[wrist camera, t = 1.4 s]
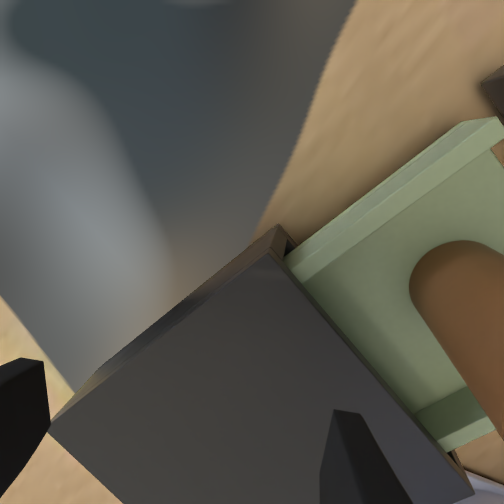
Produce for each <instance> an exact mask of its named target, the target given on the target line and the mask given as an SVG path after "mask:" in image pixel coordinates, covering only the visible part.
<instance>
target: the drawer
mask: <svg viewBox="0 0 504 504" xmlns="http://www.w3.org/2000/svg"><path fill="white" fill-rule="evenodd" d="M481 86H482V87H483V89H484V90H485V92H486V93H487V94H488V96H489V97H490V99H491V100H492V102H493V103H494V105H495V106H496V107H497V109H498V110H499V112H500V113H501V115H502V116H503V117H504V65H503V66H501V67H500V68H499V69H498V70H496V71H495V72H494V73H492V74H491V75H490V76H489V77H487V78H486V79H485V80H484V81H482V83H481ZM502 139H504V126H503V125H502V123H501V122H500V120H499V119H498V118H497V117H496V116H495V117H488V118H481V119H474V120H468V121H462V122H460V123H459V124H457V125H456V126H455V127H453V128H452V129H451V130H449V131H448V132H447V133H445V134H444V135H443V136H442V137H440V138H439V139H438V140H436V141H435V142H434V143H432V144H431V145H430V146H428V147H427V148H426V149H425V150H423V151H422V152H421V153H419V154H418V155H417V156H415V157H414V158H413V159H411V160H410V161H409V162H408V163H406V164H405V165H404V166H402V167H401V168H400V169H398V170H397V171H396V172H394V173H393V174H392V175H391V176H389V177H388V178H387V179H385V180H384V181H383V182H381V183H380V184H379V185H377V186H376V187H375V188H374V189H372V190H371V191H370V192H368V193H367V194H366V195H364V196H363V197H362V198H360V199H359V200H358V201H357V202H355V203H354V204H353V205H351V206H350V207H349V208H347V209H346V210H345V211H343V212H342V213H341V214H340V215H338V216H337V217H336V218H334V219H333V220H332V221H330V222H329V223H328V224H326V225H325V226H324V227H323V228H321V229H320V230H319V231H317V232H316V233H315V234H313V235H312V236H311V237H309V238H308V239H307V240H306V241H304V242H303V243H302V244H300V245H299V246H298V247H296V248H295V249H294V250H292V251H291V252H290V253H289V254H287V255H286V256H285V257H283V263H284V264H285V265H286V266H287V267H288V268H289V270H290V271H291V272H292V273H293V274H294V275H295V277H296V278H297V279H298V280H299V281H300V282H301V284H302V285H303V286H304V287H305V288H306V289H307V291H308V292H309V293H310V294H311V295H312V296H313V298H314V299H315V300H316V301H317V302H318V303H319V305H320V306H321V307H322V308H323V309H324V310H325V312H326V313H327V314H328V315H329V316H330V317H331V319H332V320H333V321H334V322H335V323H336V324H337V326H338V327H339V328H340V329H341V330H342V331H343V333H344V334H345V335H346V336H347V337H348V338H349V340H350V341H351V342H352V343H353V344H354V345H355V347H356V348H357V349H358V350H359V351H360V352H361V354H362V355H363V356H364V357H365V358H366V359H367V361H368V362H369V363H370V364H371V365H372V366H373V368H374V369H375V370H376V371H377V372H378V373H379V375H380V376H381V377H382V378H383V379H384V380H385V382H386V383H387V384H388V385H389V386H390V387H391V389H392V390H393V391H394V392H395V393H396V394H397V396H398V397H399V398H400V399H401V400H402V401H403V403H404V404H405V405H406V406H407V407H408V408H409V410H410V411H411V412H412V413H413V414H414V415H415V417H416V418H417V419H418V420H419V421H420V422H421V424H422V425H423V426H424V427H425V428H426V429H427V431H428V432H429V433H430V434H431V435H432V436H433V438H434V439H435V440H436V441H437V442H438V443H439V445H440V446H441V447H442V448H443V449H444V450H445V452H446V453H447V452H449V451H451V450H454V449H456V448H458V447H460V446H462V445H464V444H466V443H468V442H471V441H473V440H475V439H477V438H479V437H481V436H483V435H486V434H488V433H490V432H492V431H494V430H496V428H495V427H494V425H493V424H492V422H491V421H490V419H489V418H488V416H487V415H486V413H485V412H484V410H483V409H482V407H481V406H480V404H479V403H478V401H477V400H476V398H475V397H474V395H473V394H472V392H471V391H470V389H469V388H468V386H467V385H466V383H465V382H464V380H463V379H462V377H461V376H460V374H459V373H458V371H457V369H456V368H455V366H454V365H453V363H452V362H451V360H450V359H449V357H448V356H447V354H446V353H445V351H444V350H443V348H442V347H441V345H440V344H439V342H438V341H437V339H436V338H435V336H434V335H433V333H432V332H431V330H430V329H429V327H428V326H427V324H426V323H425V321H424V320H423V318H422V317H421V315H420V314H419V312H418V311H417V309H416V308H415V306H414V305H413V303H412V301H411V298H410V294H409V281H410V277H411V273H412V271H413V269H414V267H415V266H416V264H417V263H418V261H419V260H420V259H421V258H422V257H423V256H424V255H425V254H426V253H427V252H429V251H430V250H432V249H433V248H435V247H437V246H439V245H442V244H444V243H448V242H452V241H459V240H469V241H475V242H479V243H482V244H484V245H487V246H489V247H490V248H492V249H494V250H496V251H497V252H499V253H501V254H503V255H504V167H503V166H502V164H501V163H500V161H499V160H498V159H497V157H496V156H495V154H494V153H493V152H492V150H491V149H490V148H491V147H493V146H494V145H495V144H497V143H498V142H500V141H501V140H502Z"/></svg>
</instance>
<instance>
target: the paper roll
mask: <svg viewBox="0 0 504 504" xmlns="http://www.w3.org/2000/svg"><path fill="white" fill-rule="evenodd" d="M409 294H410V298H411V301H412V303H413V305H414V306H415V308H416V309H417V311H418V312H419V314H420V315H421V317H422V318H423V320H424V321H425V323H426V324H427V326H428V327H429V329H430V330H431V332H432V333H433V335H434V336H435V338H436V339H437V341H438V342H439V344H440V345H441V347H442V348H443V350H444V351H445V353H446V354H447V356H448V357H449V359H450V360H451V362H452V363H453V365H454V366H455V368H456V369H457V371H458V373H459V374H460V376H461V377H462V379H463V380H464V382H465V383H466V385H467V386H468V388H469V389H470V391H471V392H472V394H473V395H474V397H475V398H476V400H477V401H478V403H479V404H480V406H481V407H482V409H483V410H484V412H485V413H486V415H487V416H488V418H489V419H490V421H491V422H492V424H493V425H494V427H495V428H496V430H497V431H498V433H499V434H500V436H501V437H502V439H503V440H504V255H503V254H501V253H499V252H497V251H496V250H494V249H492V248H490V247H489V246H487V245H484V244H482V243H479V242H475V241H469V240H459V241H452V242H448V243H444V244H442V245H439V246H437V247H435V248H433V249H432V250H430V251H429V252H427V253H426V254H425V255H424V256H423V257H422V258H421V259H420V260H419V261H418V263H417V264H416V266H415V267H414V269H413V271H412V273H411V277H410V281H409Z"/></svg>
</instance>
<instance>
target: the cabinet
mask: <svg viewBox="0 0 504 504" xmlns="http://www.w3.org/2000/svg"><path fill="white" fill-rule="evenodd" d="M296 247H298V246H297V245H296V244H295V242H294V241H293V240H292V239H291V238H290V236H289V235H288V234H287V233H286V232H285V230H284V229H283V228H282V227H281V226H280V225H279V224H277V225H275V226H274V227H273V228H272V229H270V230H269V231H268V232H267V233H265V234H264V235H263V236H262V237H260V238H259V239H258V240H257V241H255V242H254V243H253V244H252V245H251V246H249V247H248V248H247V249H246V250H244V251H243V252H242V253H241V254H239V255H238V256H237V257H236V258H234V259H233V260H232V261H231V262H230V263H228V264H227V265H226V266H224V267H223V268H222V269H221V270H220V271H218V272H217V273H216V274H215V275H213V276H212V277H211V278H210V279H209V280H207V281H206V282H205V283H203V284H202V285H201V286H200V287H198V288H197V289H196V290H195V291H194V292H192V293H191V294H190V295H189V296H187V297H186V298H185V299H184V300H182V301H181V302H180V303H179V304H177V305H176V306H175V307H174V308H172V309H171V310H170V311H169V312H167V313H166V314H165V315H164V316H163V317H161V318H160V319H159V320H158V321H156V322H155V323H154V324H153V325H151V326H150V327H149V328H148V329H146V330H145V331H144V332H143V333H142V334H140V335H139V336H138V337H136V338H135V339H134V340H133V341H132V342H130V343H129V344H128V345H127V346H125V347H124V348H123V349H122V350H120V351H119V352H118V353H117V354H115V355H114V356H113V357H112V358H111V359H109V360H108V361H107V362H105V363H104V364H103V365H102V366H101V367H100V368H99V369H98V370H97V371H96V372H95V373H94V374H93V375H92V376H91V377H90V378H89V379H88V381H87V382H86V383H85V384H84V385H83V386H82V387H81V388H80V389H79V390H78V391H77V393H76V394H75V395H74V396H73V397H72V398H71V399H70V400H69V401H68V402H67V403H66V404H65V406H64V407H63V408H62V409H61V410H60V411H59V412H58V413H57V414H56V415H55V417H54V418H53V419H52V420H51V426H50V428H49V429H48V431H47V432H48V433H49V434H50V435H51V436H52V437H53V438H54V439H55V440H56V441H57V442H58V443H59V444H60V445H61V446H62V447H64V448H65V449H66V450H67V451H68V452H69V453H70V454H71V455H72V456H73V457H74V458H75V459H76V460H77V461H78V462H79V463H81V464H82V465H83V466H84V467H85V468H86V469H87V470H88V471H89V472H90V473H91V474H92V475H93V476H94V477H95V478H97V479H98V480H99V481H100V482H101V483H102V484H103V485H104V486H105V487H106V488H107V489H108V490H109V491H110V492H111V493H113V494H114V495H115V496H116V497H117V498H118V499H119V500H120V501H121V502H122V503H123V504H320V484H319V473H320V468H321V464H322V459H323V455H324V450H325V445H326V441H327V436H328V432H329V427H330V423H331V418H332V414H333V409H336V410H342V411H348V412H354V413H360V414H361V415H362V417H363V418H364V420H365V422H366V423H367V425H368V427H369V429H370V431H371V433H372V434H373V436H374V438H375V440H376V441H377V443H378V445H379V447H380V449H381V450H382V452H383V454H384V456H385V457H386V459H387V461H388V462H389V464H390V466H391V467H392V469H393V471H394V473H395V474H396V476H397V478H398V479H399V481H400V483H401V484H402V486H403V487H404V489H405V491H406V492H407V494H408V495H409V497H410V498H411V500H412V502H413V503H414V504H454V503H456V502H459V501H461V500H463V499H466V498H468V497H471V496H473V495H475V491H474V489H473V487H472V485H471V483H470V481H469V479H468V477H467V474H466V472H465V470H464V468H463V466H462V464H461V462H460V460H459V458H458V456H457V454H456V452H455V450H451V451H449V452H447V453H446V452H445V450H444V449H443V448H442V447H441V446H440V445H439V443H438V442H437V441H436V440H435V439H434V438H433V436H432V435H431V434H430V433H429V432H428V431H427V429H426V428H425V427H424V426H423V425H422V424H421V422H420V421H419V420H418V419H417V418H416V417H415V415H414V414H413V413H412V412H411V411H410V410H409V408H408V407H407V406H406V405H405V404H404V403H403V401H402V400H401V399H400V398H399V397H398V396H397V394H396V393H395V392H394V391H393V390H392V389H391V387H390V386H389V385H388V384H387V383H386V382H385V380H384V379H383V378H382V377H381V376H380V375H379V373H378V372H377V371H376V370H375V369H374V368H373V366H372V365H371V364H370V363H369V362H368V361H367V359H366V358H365V357H364V356H363V355H362V354H361V352H360V351H359V350H358V349H357V348H356V347H355V345H354V344H353V343H352V342H351V341H350V340H349V338H348V337H347V336H346V335H345V334H344V333H343V331H342V330H341V329H340V328H339V327H338V326H337V324H336V323H335V322H334V321H333V320H332V319H331V317H330V316H329V315H328V314H327V313H326V312H325V310H324V309H323V308H322V307H321V306H320V305H319V303H318V302H317V301H316V300H315V299H314V298H313V296H312V295H311V294H310V293H309V292H308V291H307V289H306V288H305V287H304V286H303V285H302V284H301V282H300V281H299V280H298V279H297V278H296V277H295V275H294V274H293V273H292V272H291V271H290V270H289V268H288V267H287V266H286V265H285V264H284V263H283V257H285V256H286V255H287V254H289V253H290V252H291V251H292V250H294V249H295V248H296Z"/></svg>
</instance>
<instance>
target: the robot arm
mask: <svg viewBox="0 0 504 504" xmlns="http://www.w3.org/2000/svg"><path fill="white" fill-rule="evenodd" d="M50 426H51V421H50V412H49V404H48V396H47V387H46V379H45V371H44V363H43V361H39V360H33V359H27V358H18V359H16V360H13V361H11V362H8V363H6V364H4V365H2V366H0V498H1V496H2V495H3V494H4V493H5V491H6V490H7V489H8V488H9V486H10V485H11V484H12V482H13V481H14V480H15V479H16V477H17V476H18V475H19V473H20V472H21V471H22V470H23V468H24V467H25V465H26V464H27V462H28V461H29V459H30V458H31V456H32V455H33V453H34V452H35V450H36V449H37V447H38V446H39V444H40V442H41V441H42V439H43V437H44V436H45V434H46V432H47V431H48V429H49V428H50ZM465 472H466V474H467V477H468V479H469V481H470V483H471V485H472V487H473V489H474V491H475V495H473V496H471V497H468V498H466V499H463V500H461V501H459V502H456V503H454V504H504V485H502V484H499V483H496V482H494V481H491V480H489V479H486V478H484V477H481V476H478V475H476V474H473V473H471V472H468V471H466V470H465ZM319 484H320V504H414V503H413V502H412V500H411V498H410V497H409V495H408V494H407V492H406V491H405V489H404V487H403V486H402V484H401V483H400V481H399V479H398V478H397V476H396V474H395V473H394V471H393V469H392V467H391V466H390V464H389V462H388V461H387V459H386V457H385V456H384V454H383V452H382V450H381V449H380V447H379V445H378V443H377V441H376V440H375V438H374V436H373V434H372V433H371V431H370V429H369V427H368V425H367V423H366V422H365V420H364V418H363V417H362V415H361V414H360V413H354V412H348V411H342V410H336V409H333V414H332V418H331V423H330V427H329V432H328V436H327V441H326V445H325V450H324V455H323V459H322V464H321V468H320V473H319Z"/></svg>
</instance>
